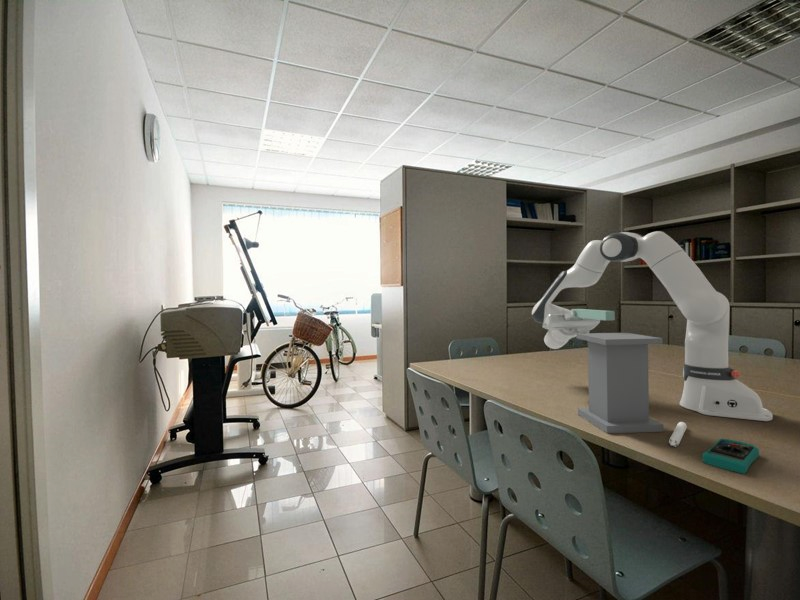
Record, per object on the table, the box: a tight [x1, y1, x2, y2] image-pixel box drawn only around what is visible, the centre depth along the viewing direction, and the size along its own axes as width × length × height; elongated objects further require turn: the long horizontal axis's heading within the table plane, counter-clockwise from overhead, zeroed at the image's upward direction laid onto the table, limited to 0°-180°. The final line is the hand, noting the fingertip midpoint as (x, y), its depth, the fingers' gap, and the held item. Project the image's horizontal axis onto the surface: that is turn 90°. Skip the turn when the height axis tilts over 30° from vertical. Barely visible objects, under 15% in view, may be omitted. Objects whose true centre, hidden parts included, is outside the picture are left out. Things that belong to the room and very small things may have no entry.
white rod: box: [668, 421, 688, 447], centre depth 98 cm, size 18×2×2 cm, turn 136°
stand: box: [576, 332, 665, 434], centre depth 110 cm, size 16×16×26 cm
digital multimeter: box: [702, 438, 760, 475], centre depth 85 cm, size 7×15×3 cm, turn 127°
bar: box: [570, 308, 616, 321], centre depth 132 cm, size 23×3×3 cm, turn 1°
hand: (580, 312), depth 140 cm, fingers closed on bar, 3 cm apart
